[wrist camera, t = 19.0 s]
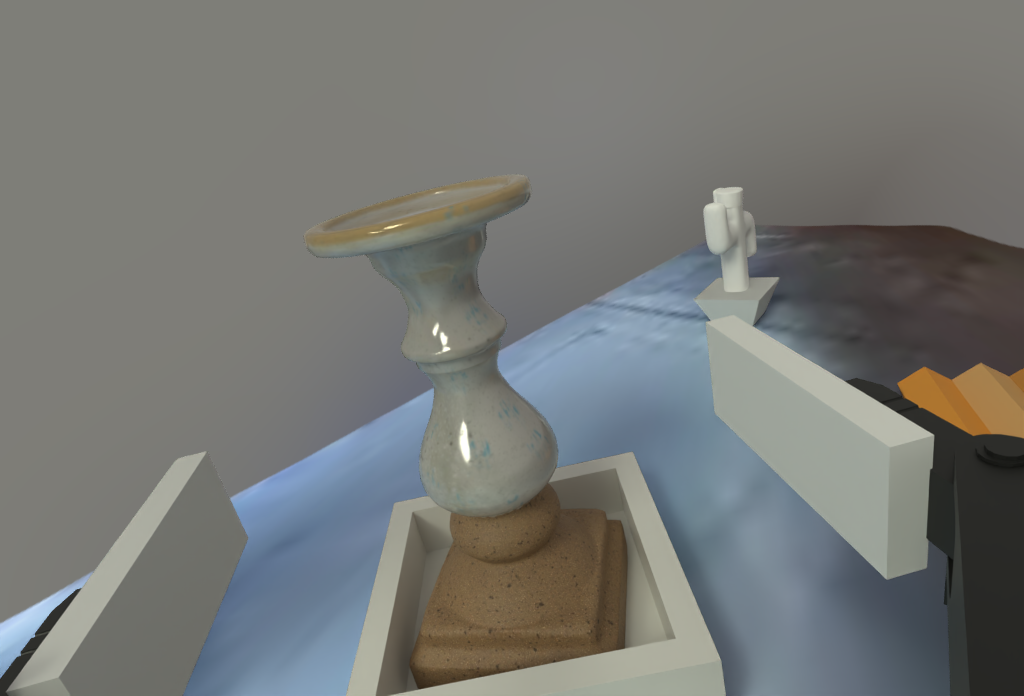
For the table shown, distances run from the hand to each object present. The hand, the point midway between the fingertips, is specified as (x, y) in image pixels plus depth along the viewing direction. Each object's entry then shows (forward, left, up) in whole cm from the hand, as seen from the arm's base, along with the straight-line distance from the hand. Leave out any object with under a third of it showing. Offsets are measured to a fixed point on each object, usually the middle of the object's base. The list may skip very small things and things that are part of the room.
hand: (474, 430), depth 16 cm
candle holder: (-2, +13, -19) cm, 24 cm away
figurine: (+25, +51, -20) cm, 61 cm away
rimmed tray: (-2, +13, -20) cm, 24 cm away
